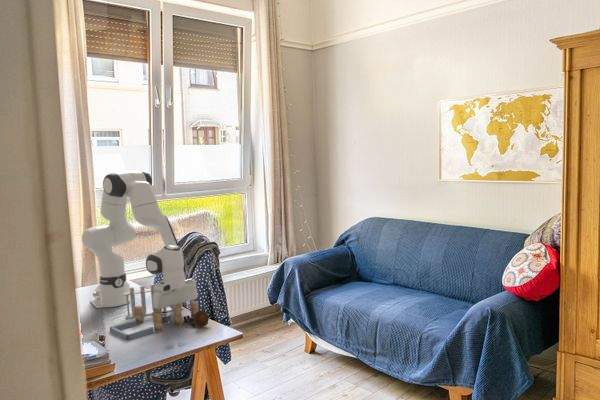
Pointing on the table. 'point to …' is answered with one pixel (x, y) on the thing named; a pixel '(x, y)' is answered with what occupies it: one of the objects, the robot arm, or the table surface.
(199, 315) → the toy
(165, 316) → the hex nut
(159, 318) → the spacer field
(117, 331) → the tray
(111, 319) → the table surface
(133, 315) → the test tube rack
